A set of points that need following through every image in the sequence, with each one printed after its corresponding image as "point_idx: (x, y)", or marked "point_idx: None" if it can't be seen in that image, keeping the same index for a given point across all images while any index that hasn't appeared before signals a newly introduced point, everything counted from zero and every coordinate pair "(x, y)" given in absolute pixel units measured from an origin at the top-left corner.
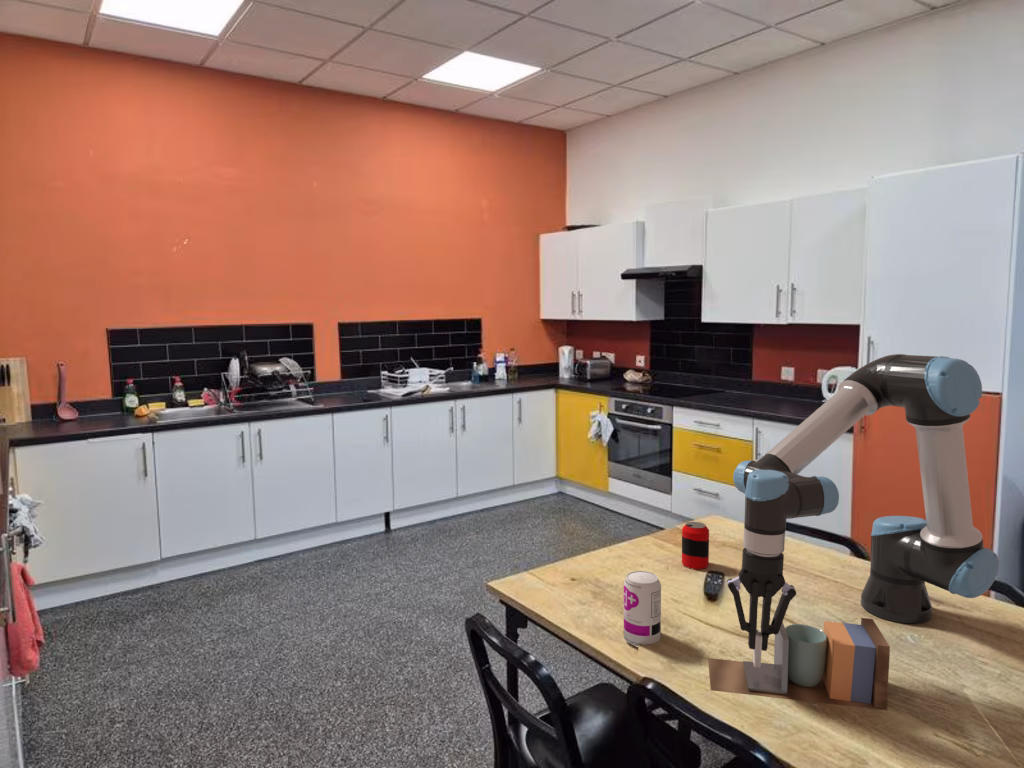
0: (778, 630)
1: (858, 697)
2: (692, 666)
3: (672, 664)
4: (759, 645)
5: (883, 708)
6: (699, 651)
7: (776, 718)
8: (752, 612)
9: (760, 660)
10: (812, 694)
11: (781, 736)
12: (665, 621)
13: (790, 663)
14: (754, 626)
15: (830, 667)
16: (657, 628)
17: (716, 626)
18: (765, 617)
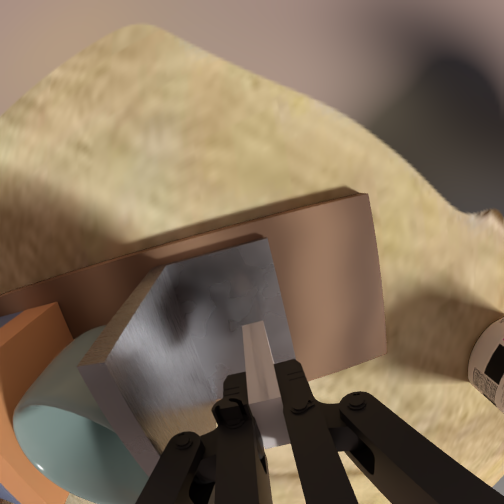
0: (167, 450)
1: (7, 318)
2: (412, 312)
3: (449, 296)
4: (256, 373)
5: None
6: (396, 382)
7: (171, 161)
8: (342, 497)
9: (244, 338)
10: (95, 304)
11: (152, 86)
12: (445, 433)
13: None
14: (301, 432)
15: (25, 358)
16: (497, 365)
17: (357, 473)
18: (243, 498)
